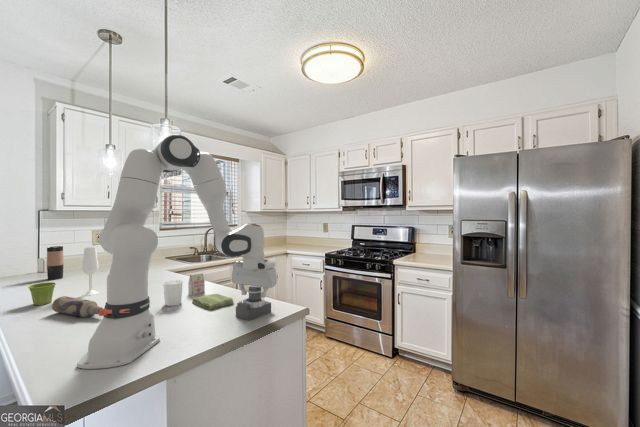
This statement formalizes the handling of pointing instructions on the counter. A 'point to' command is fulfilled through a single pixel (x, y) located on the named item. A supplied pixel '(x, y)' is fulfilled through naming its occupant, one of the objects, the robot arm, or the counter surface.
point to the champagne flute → (90, 266)
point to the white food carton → (196, 284)
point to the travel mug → (55, 262)
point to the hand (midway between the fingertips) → (253, 295)
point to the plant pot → (42, 293)
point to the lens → (254, 293)
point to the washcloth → (212, 301)
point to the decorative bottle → (75, 306)
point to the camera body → (252, 309)
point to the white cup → (172, 292)
